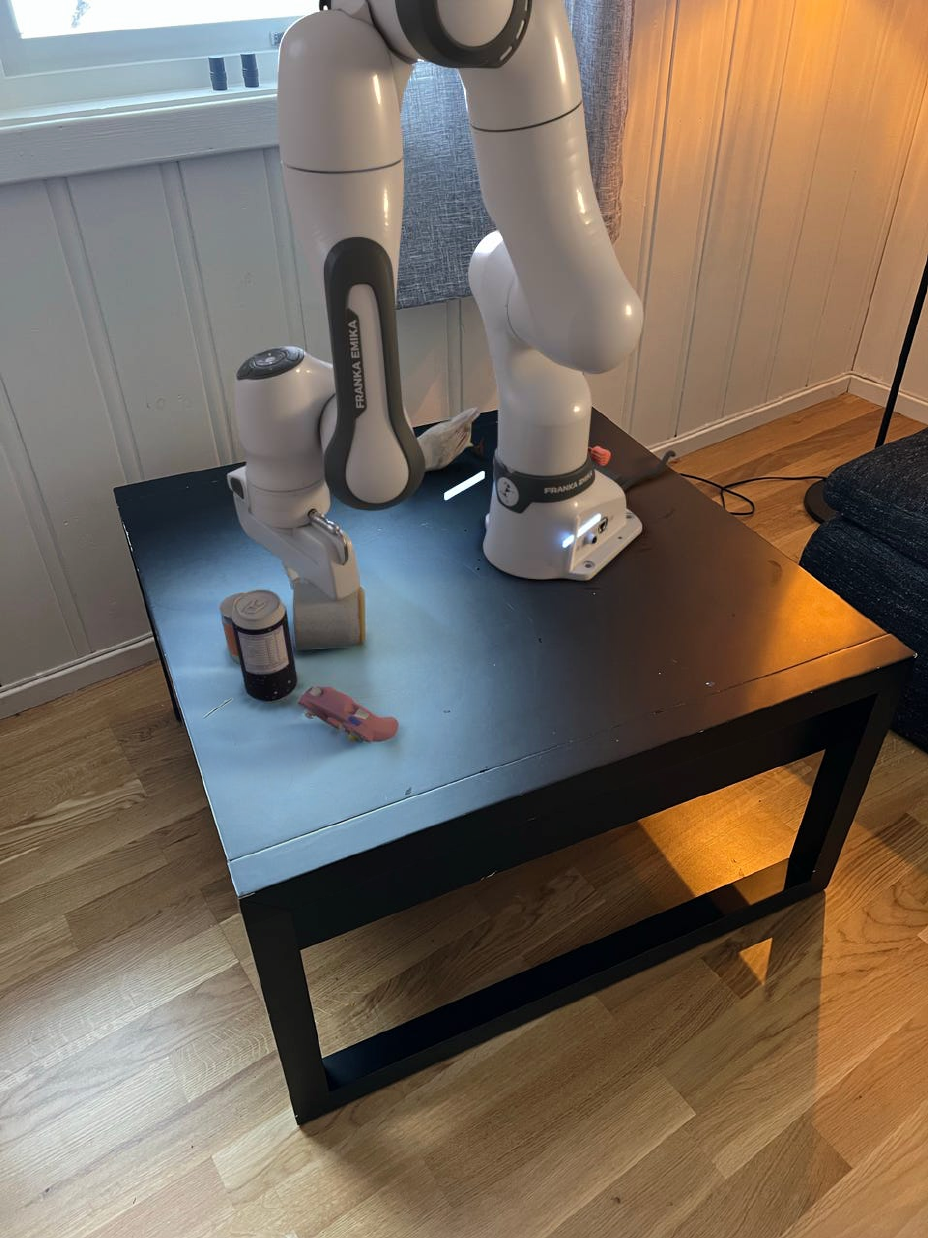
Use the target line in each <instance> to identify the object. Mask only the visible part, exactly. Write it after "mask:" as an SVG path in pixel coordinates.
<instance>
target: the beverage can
mask: <svg viewBox="0 0 928 1238" xmlns="http://www.w3.org/2000/svg"><path fill="white" fill-rule="evenodd" d="M243 593H244V594H242V595H240V596H239V597H238V598H237V599H236V600H235V601H234V603H233V611H232V613H231V622H232V627H233V632H234V637H235V642H236V646H237V651H238V656H239V661H240V665H239V666H240V671H241V675H242V680H243V684H244V689H245V692H246V694H247V695H248V696H249V697H250V698H252V699H253V700H256V701H259V702H262V703H269V704H270V703H277V702H280V701H282V700H284V699H285V698H287V697H288V696H289V695H290V694H292V693H293V692H294V691H295V689H296V688H297V686H298V676H297V669H296V662H295V655H294V649H293V642H292V637H291V630H290V623H289V618H288V611H287V607H286V605H285V604H284V602H282V599H281V597H280V596H279V595H278V593H276V592H274V591H271V590H270V589H269V590H268V589H253V590H249V591H246V592H243Z"/></svg>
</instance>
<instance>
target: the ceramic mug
mask: <svg viewBox="0 0 928 1238" xmlns="http://www.w3.org/2000/svg"><path fill="white" fill-rule="evenodd" d="M365 595H366V594H365V590H364V588H363V587H362V586H360V587H359V589H358V590H357V591H356V592H355V593H353V594H351V595H349V596H348V597H346V598H343V599H341V600H339V601H336V602H334V601H332V600H330V599H329V598H328V597H327V596H326V595H325V594H324V593H323V592H322V591H321V590H320V589H318V588H317V587H315V586H314V585H312V584H310V583H296V584H295V585H294V590H292V627H293V629H292V631H293V641H294V646H295V650H297V651H306V650H321V649H322V650H323V649H337V648H338V649H339V648H352V647H358V646H361V645H363V644H364V643H365V642H366V637H367V636H366V635H367V634H366V633H367V632H366V631H367V630H366V596H365Z"/></svg>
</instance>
